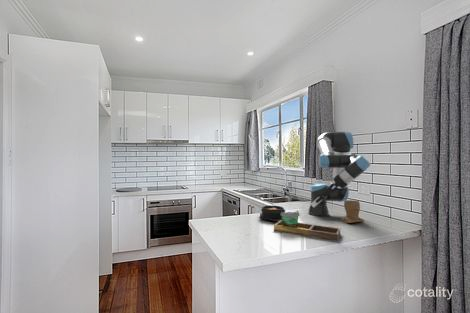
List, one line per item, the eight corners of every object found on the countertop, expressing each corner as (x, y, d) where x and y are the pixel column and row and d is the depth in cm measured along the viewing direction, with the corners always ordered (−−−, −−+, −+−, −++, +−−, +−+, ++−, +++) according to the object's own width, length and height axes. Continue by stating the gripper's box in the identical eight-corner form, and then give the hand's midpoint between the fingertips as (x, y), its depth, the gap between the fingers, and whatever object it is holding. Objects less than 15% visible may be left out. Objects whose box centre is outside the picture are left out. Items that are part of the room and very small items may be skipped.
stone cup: (352, 218, 183) (352, 198, 183) (366, 222, 172) (367, 200, 172) (336, 220, 177) (336, 199, 177) (350, 225, 166) (350, 202, 166)
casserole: (294, 222, 170) (294, 210, 170) (269, 225, 163) (269, 212, 163) (276, 214, 193) (276, 203, 193) (253, 216, 187) (253, 204, 187)
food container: (286, 231, 146) (286, 214, 146) (280, 228, 151) (280, 211, 151) (303, 229, 151) (303, 212, 151) (297, 226, 156) (297, 210, 156)
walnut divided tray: (280, 225, 162) (280, 220, 162) (340, 234, 145) (340, 228, 145) (273, 230, 151) (273, 224, 151) (337, 241, 134) (337, 234, 134)
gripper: (346, 186, 125) (314, 213, 133) (350, 182, 147) (323, 205, 155) (335, 175, 128) (304, 202, 135) (340, 172, 150) (314, 195, 157)
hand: (314, 203), depth 145 cm, fingers open, 13 cm apart
